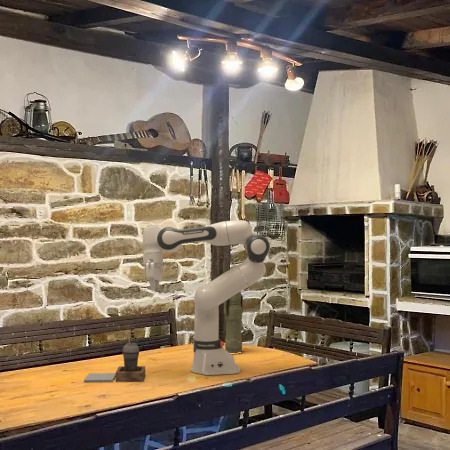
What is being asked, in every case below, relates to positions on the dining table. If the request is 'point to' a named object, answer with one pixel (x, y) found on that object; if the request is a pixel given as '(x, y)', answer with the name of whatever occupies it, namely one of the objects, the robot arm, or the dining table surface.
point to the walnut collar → (130, 375)
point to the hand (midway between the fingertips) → (154, 290)
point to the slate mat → (100, 377)
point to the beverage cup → (130, 356)
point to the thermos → (233, 323)
